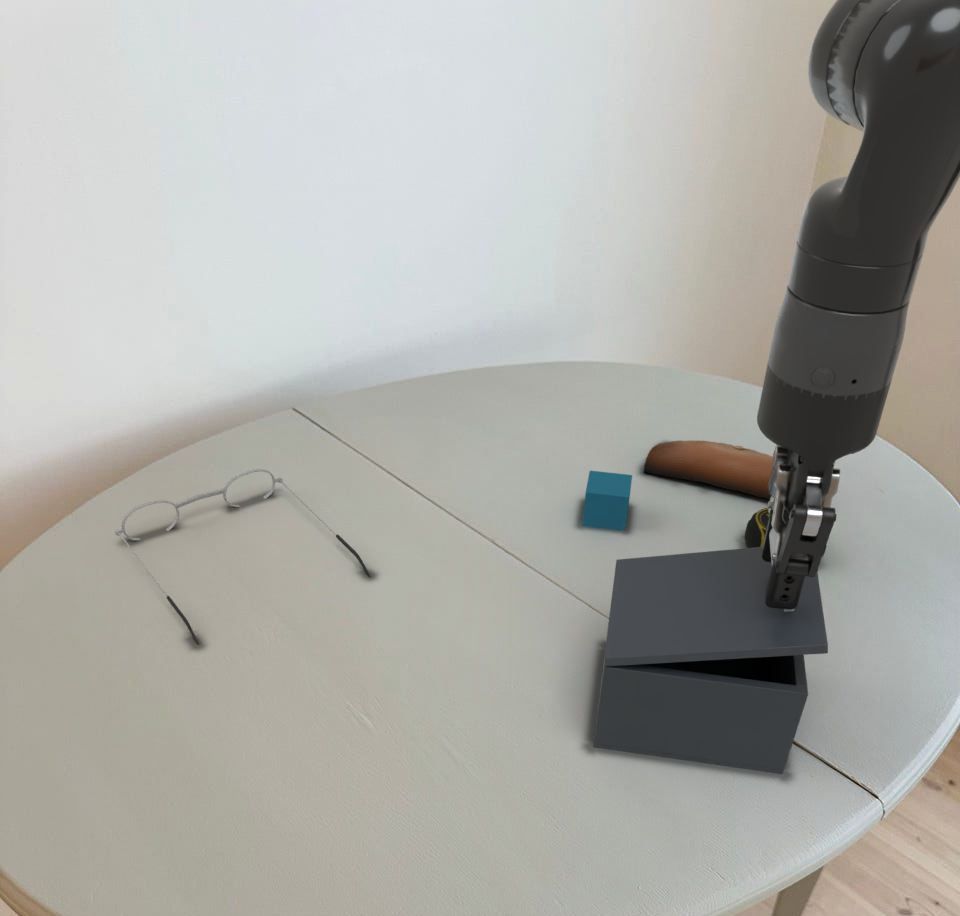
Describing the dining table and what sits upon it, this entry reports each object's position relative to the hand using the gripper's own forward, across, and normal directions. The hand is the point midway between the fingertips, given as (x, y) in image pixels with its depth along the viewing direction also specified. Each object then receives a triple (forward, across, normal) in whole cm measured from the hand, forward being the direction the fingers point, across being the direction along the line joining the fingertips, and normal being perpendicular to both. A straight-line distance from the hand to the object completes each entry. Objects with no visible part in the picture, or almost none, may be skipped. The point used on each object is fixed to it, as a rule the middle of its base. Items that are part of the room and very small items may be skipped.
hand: (777, 581), depth 72 cm
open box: (+14, 0, +5) cm, 14 cm away
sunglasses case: (+14, +38, +1) cm, 40 cm away
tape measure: (+14, +25, -4) cm, 29 cm away
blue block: (+14, +27, +14) cm, 33 cm away
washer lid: (+3, 0, +4) cm, 5 cm away
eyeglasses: (+13, +12, +48) cm, 51 cm away
